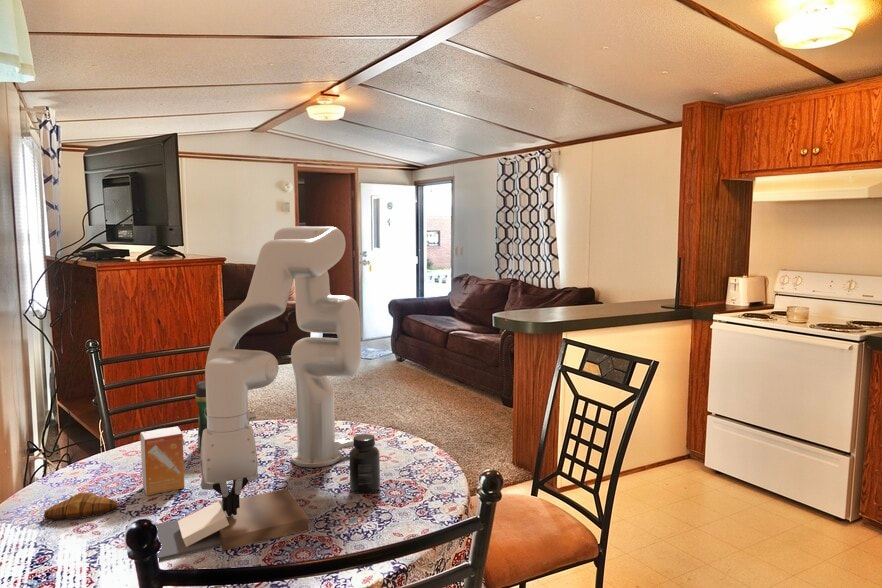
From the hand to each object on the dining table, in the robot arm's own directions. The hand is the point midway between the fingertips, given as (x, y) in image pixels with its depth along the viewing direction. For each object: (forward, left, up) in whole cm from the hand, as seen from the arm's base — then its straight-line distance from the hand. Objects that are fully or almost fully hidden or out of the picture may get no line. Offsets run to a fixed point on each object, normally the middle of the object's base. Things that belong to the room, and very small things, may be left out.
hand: (231, 512), depth 119 cm
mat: (+8, -1, -3) cm, 9 cm away
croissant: (+26, -22, -4) cm, 34 cm away
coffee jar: (-5, -50, -4) cm, 50 cm away
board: (-5, 0, -3) cm, 6 cm away
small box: (+10, -28, -4) cm, 30 cm away
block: (+5, 0, -2) cm, 5 cm away
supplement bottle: (-30, -5, -4) cm, 31 cm away
